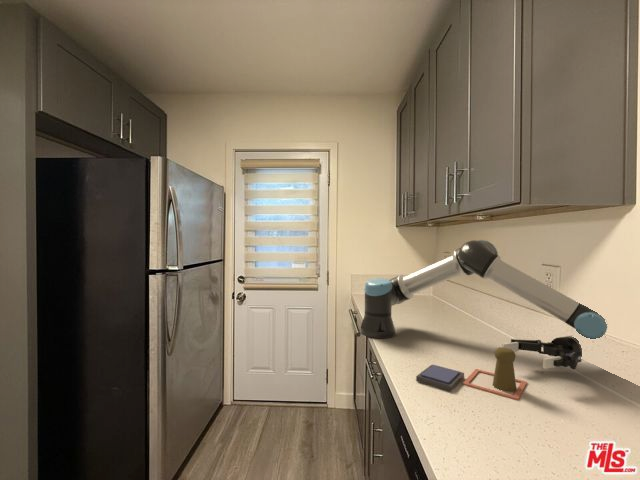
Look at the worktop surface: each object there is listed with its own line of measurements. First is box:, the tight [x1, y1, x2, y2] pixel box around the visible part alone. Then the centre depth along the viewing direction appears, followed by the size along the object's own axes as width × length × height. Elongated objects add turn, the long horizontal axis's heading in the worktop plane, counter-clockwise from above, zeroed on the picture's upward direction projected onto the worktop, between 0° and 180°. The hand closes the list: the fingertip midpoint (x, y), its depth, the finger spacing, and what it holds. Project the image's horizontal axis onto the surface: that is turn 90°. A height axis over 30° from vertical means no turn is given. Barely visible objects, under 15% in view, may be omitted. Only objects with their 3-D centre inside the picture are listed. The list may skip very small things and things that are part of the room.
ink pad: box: [415, 364, 465, 393], centre depth 99 cm, size 12×10×2 cm
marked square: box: [462, 368, 528, 401], centre depth 97 cm, size 14×14×1 cm
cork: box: [492, 346, 517, 393], centre depth 94 cm, size 6×6×11 cm
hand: (521, 355), depth 100 cm, fingers open, 13 cm apart
